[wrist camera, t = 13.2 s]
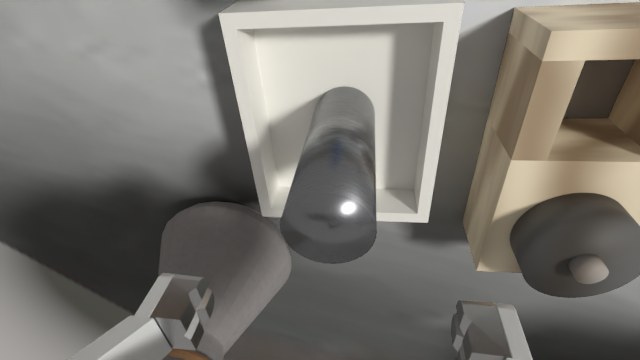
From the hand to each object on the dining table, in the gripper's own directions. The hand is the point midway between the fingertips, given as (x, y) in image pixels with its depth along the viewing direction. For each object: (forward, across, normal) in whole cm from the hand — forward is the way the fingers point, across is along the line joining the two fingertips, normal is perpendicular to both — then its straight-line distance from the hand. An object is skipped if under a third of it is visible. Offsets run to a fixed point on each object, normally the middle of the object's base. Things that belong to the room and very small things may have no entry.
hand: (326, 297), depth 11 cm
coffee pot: (+15, +13, +18) cm, 27 cm away
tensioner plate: (+16, -13, +2) cm, 21 cm away
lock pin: (+14, +1, +1) cm, 15 cm away
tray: (+15, +1, +1) cm, 15 cm away
